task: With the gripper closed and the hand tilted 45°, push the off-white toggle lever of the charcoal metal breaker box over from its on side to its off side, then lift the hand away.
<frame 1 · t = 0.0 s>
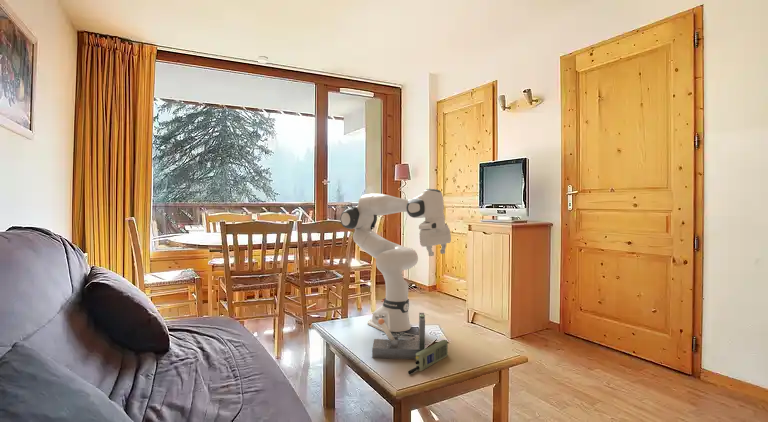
hand: (437, 254, 183), 39 cm above the table, tool pointing down, fingers open, 8 cm apart
breaker box: (394, 353, 168), on the table
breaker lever: (384, 326, 168), point 11 cm above the table, hinge at -32.0°
handheld radio: (428, 365, 158), on the table
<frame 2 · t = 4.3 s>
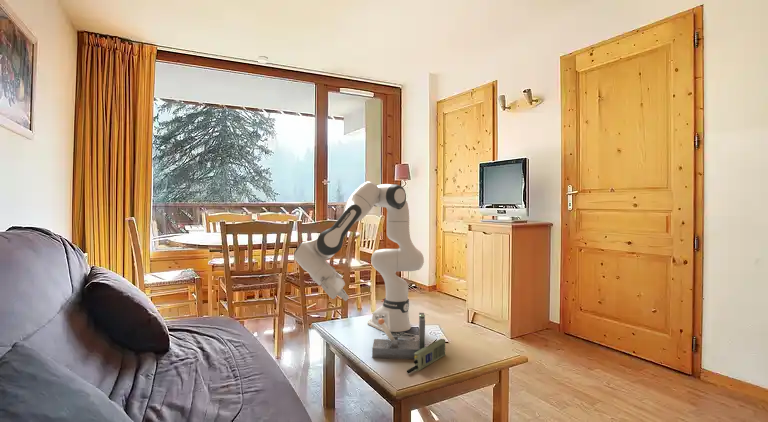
hand: (347, 299, 168), 22 cm above the table, tool tilted 45°, fingers closed
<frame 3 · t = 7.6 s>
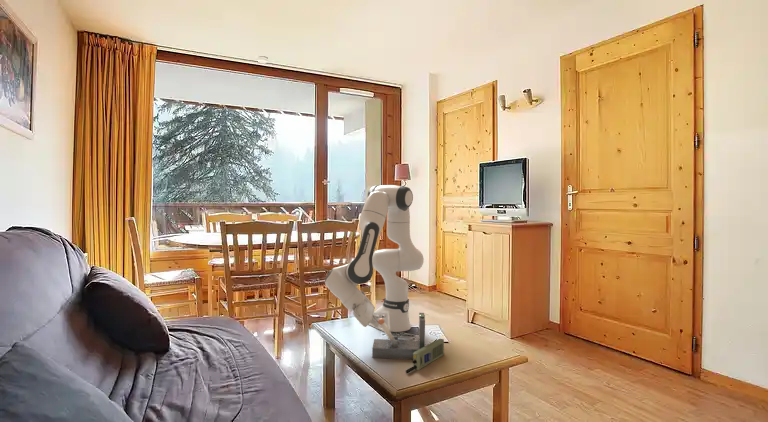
hand: (378, 325, 168), 12 cm above the table, tool tilted 45°, fingers closed, pressing on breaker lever
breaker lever: (384, 326, 168), point 11 cm above the table, hinge at -31.7°, touching gripper
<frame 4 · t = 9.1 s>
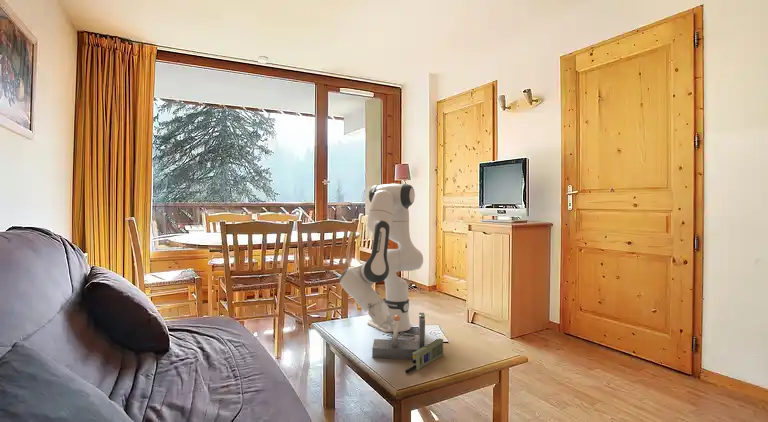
hand: (392, 325, 167), 12 cm above the table, tool tilted 45°, fingers closed, pressing on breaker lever
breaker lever: (396, 323, 167), point 13 cm above the table, hinge at 3.4°, touching gripper
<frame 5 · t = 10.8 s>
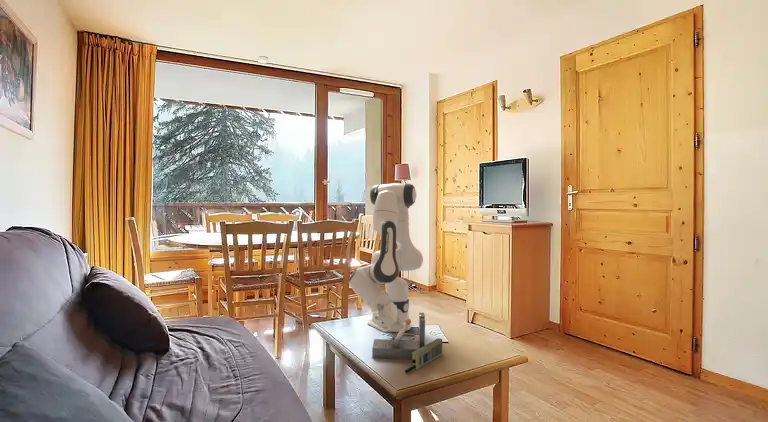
hand: (401, 326, 167), 12 cm above the table, tool tilted 45°, fingers closed, pressing on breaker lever
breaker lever: (405, 326, 167), point 12 cm above the table, hinge at 28.0°, touching gripper
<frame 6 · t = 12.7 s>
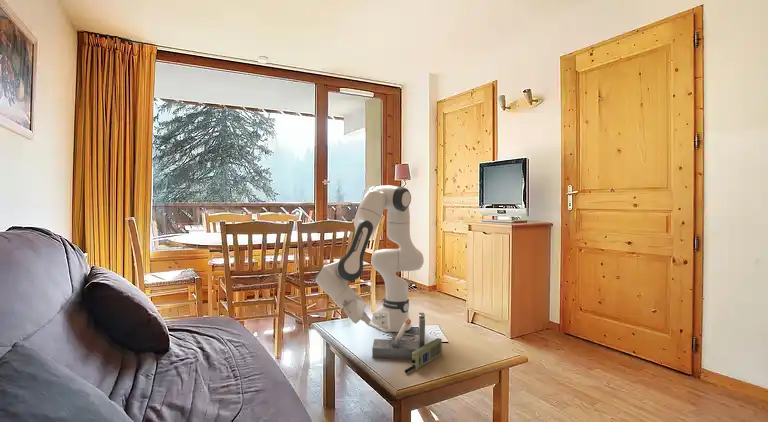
hand: (369, 322, 168), 13 cm above the table, tool tilted 45°, fingers closed
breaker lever: (405, 326, 167), point 12 cm above the table, hinge at 28.2°
handheld radio: (423, 364, 159), on the table, touching breaker box
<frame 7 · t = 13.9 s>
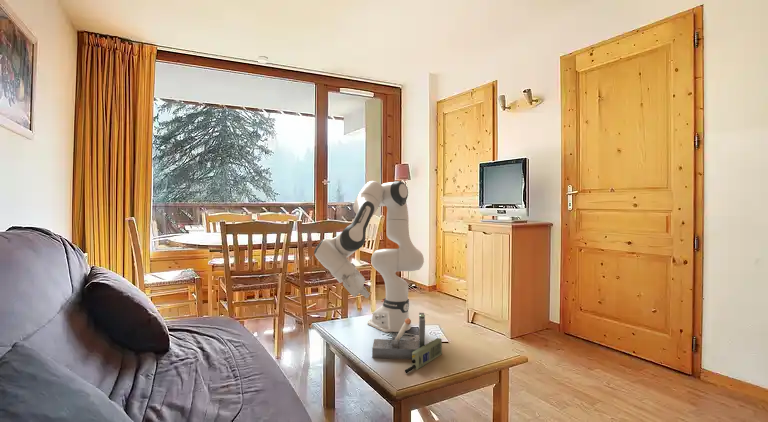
hand: (368, 296, 167), 24 cm above the table, tool tilted 45°, fingers closed
handheld radio: (423, 364, 159), on the table
everything else where it was.
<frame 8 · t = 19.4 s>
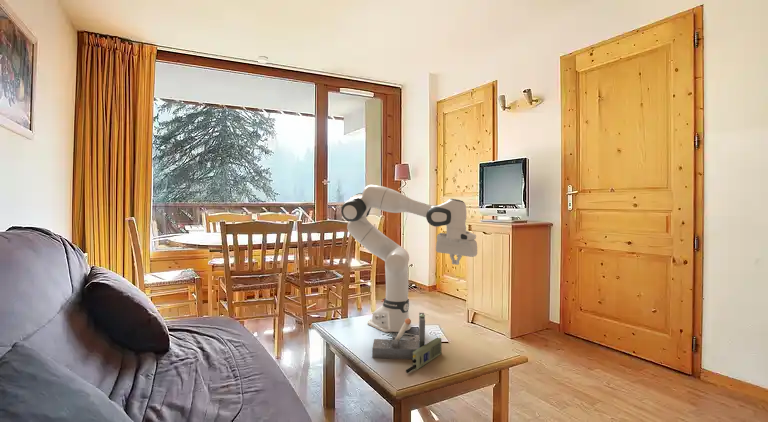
hand: (455, 264, 186), 34 cm above the table, tool pointing down, fingers closed
nothing on the table moved.
at the end: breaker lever at +28° (first picture: -32°); handheld radio moved 2.2 cm from its start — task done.
